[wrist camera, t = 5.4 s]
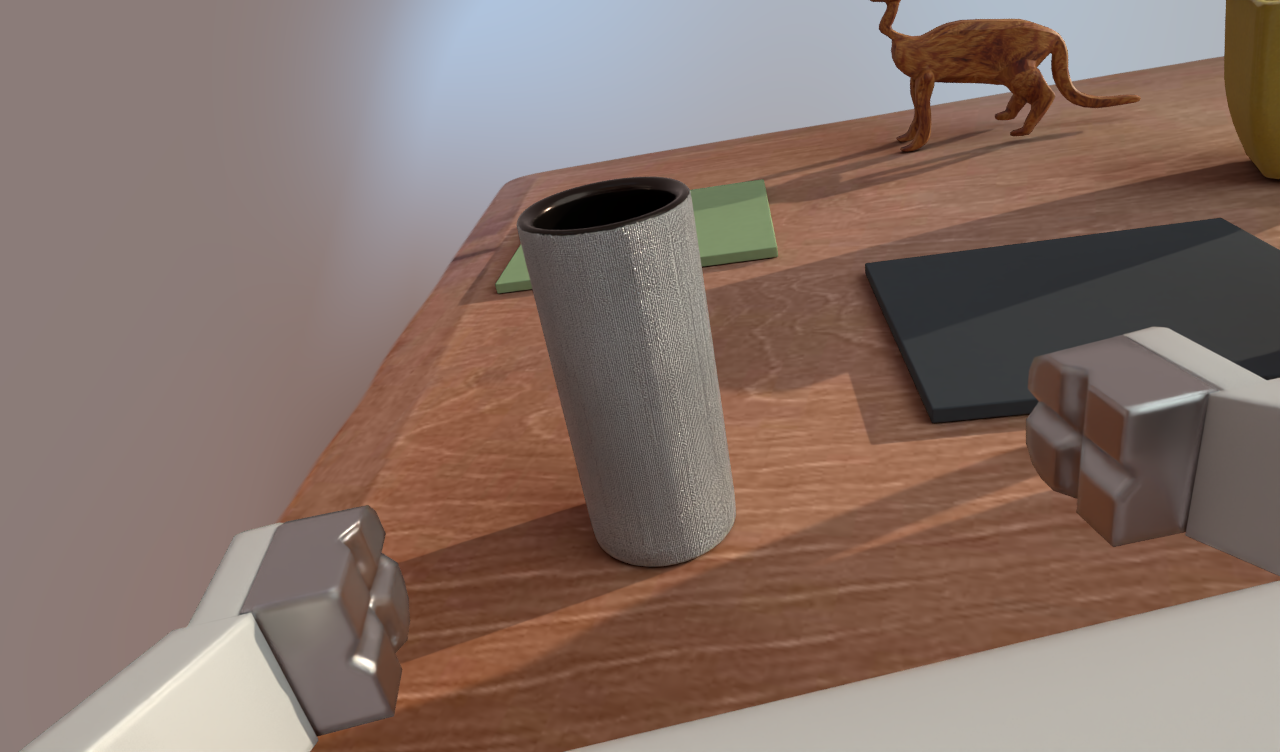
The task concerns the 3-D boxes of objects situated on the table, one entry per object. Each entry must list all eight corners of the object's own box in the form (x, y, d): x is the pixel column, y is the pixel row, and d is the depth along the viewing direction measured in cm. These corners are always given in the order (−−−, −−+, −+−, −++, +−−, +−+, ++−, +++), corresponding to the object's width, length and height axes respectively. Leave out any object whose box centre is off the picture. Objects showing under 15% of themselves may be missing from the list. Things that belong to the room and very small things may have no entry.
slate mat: (932, 424, 27) (931, 409, 27) (865, 274, 40) (864, 263, 39) (1466, 372, 25) (1472, 354, 25) (1219, 229, 37) (1221, 217, 37)
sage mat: (497, 294, 46) (494, 284, 46) (543, 219, 59) (541, 211, 58) (778, 257, 44) (777, 246, 44) (764, 187, 56) (763, 179, 56)
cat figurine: (1123, 107, 59) (1145, -110, 52) (1156, 127, 53) (1185, -113, 47) (866, 139, 63) (858, -57, 57) (871, 161, 57) (863, -54, 51)
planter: (741, 561, 23) (690, 214, 18) (587, 576, 24) (498, 243, 19) (733, 470, 27) (689, 166, 22) (601, 485, 28) (531, 191, 23)
